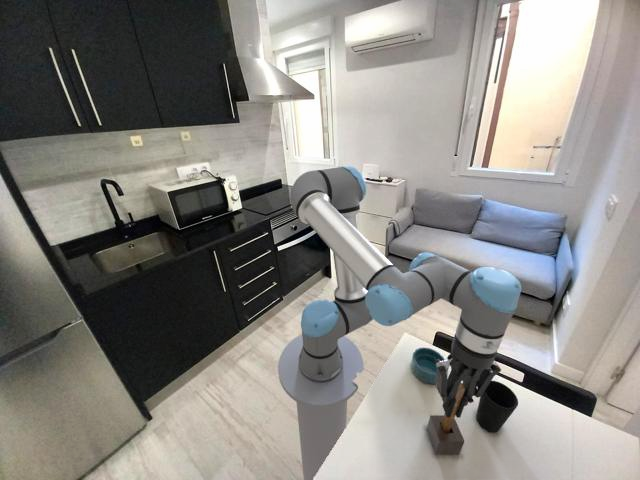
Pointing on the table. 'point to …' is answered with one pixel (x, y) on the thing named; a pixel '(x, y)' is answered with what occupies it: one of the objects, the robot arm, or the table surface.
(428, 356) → the bowl
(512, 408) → the cup
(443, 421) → the stick
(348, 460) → the table surface
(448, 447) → the holder
